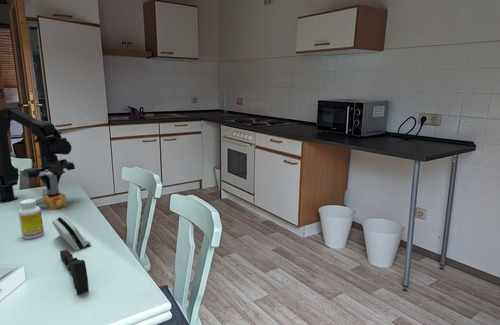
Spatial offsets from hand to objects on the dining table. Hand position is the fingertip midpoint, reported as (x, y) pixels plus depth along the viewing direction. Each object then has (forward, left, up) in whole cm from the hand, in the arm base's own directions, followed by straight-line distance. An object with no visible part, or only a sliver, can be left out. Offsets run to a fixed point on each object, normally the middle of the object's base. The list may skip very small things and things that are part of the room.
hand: (52, 188), depth 153 cm
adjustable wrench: (+62, -22, -8) cm, 66 cm away
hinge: (+41, -13, -8) cm, 44 cm away
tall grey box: (0, 0, -2) cm, 2 cm away
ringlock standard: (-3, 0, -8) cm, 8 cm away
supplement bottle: (+25, -18, -8) cm, 32 cm away
